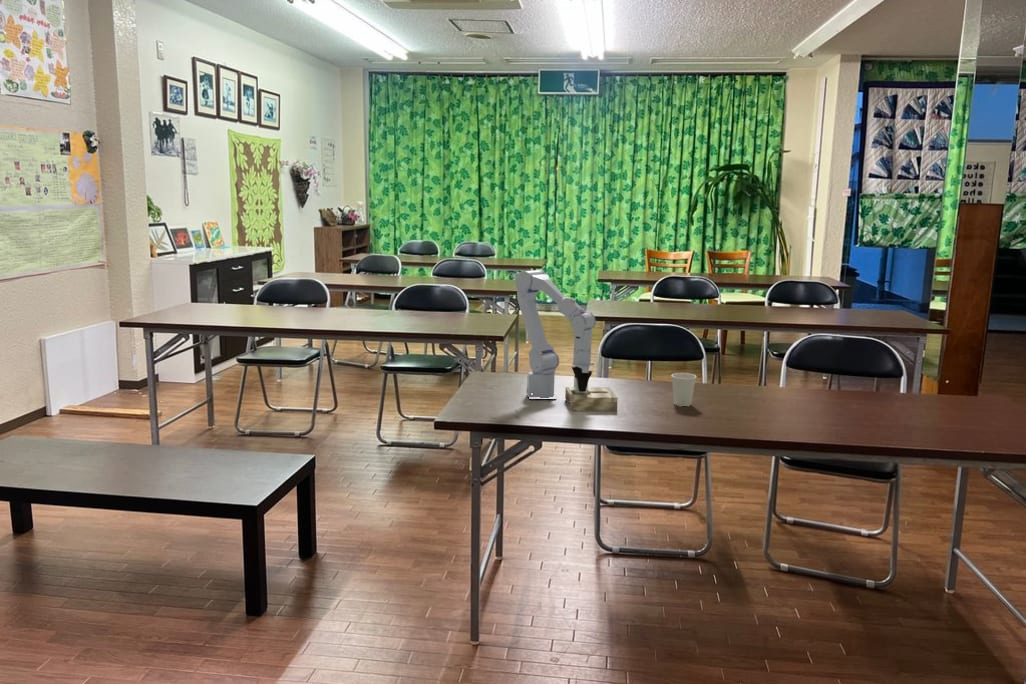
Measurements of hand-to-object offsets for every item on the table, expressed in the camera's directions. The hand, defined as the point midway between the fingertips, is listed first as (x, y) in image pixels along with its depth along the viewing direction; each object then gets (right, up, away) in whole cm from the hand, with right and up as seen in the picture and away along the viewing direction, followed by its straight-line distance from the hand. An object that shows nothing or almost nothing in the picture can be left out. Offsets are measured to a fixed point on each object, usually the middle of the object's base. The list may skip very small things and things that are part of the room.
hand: (581, 389), depth 257 cm
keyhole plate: (+3, -5, +1) cm, 6 cm away
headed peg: (0, -5, +1) cm, 5 cm away
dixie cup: (+35, -6, +5) cm, 35 cm away
